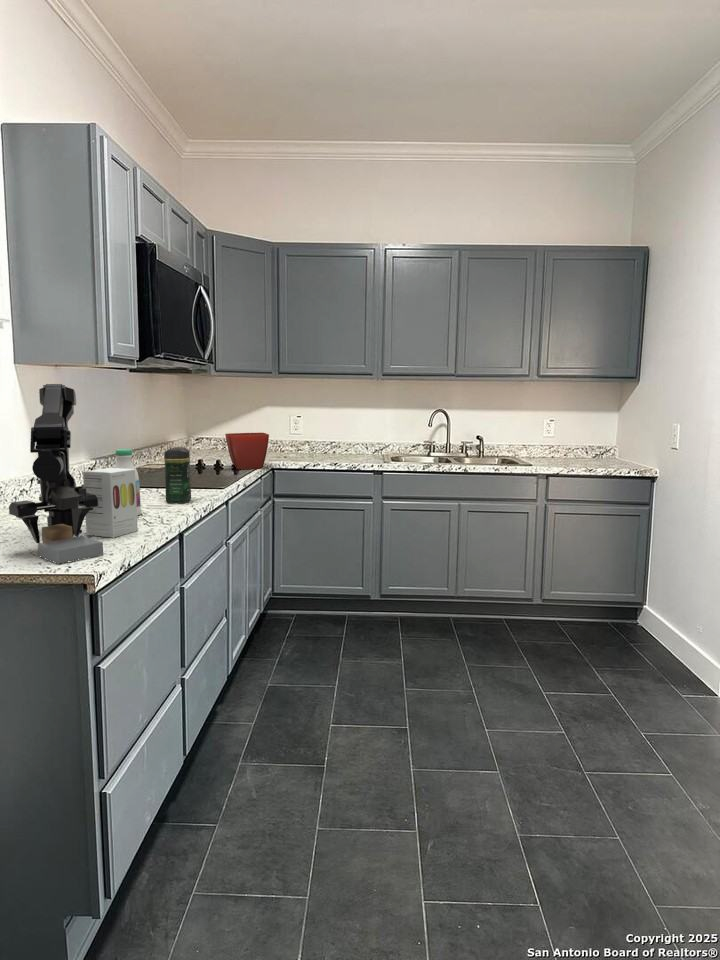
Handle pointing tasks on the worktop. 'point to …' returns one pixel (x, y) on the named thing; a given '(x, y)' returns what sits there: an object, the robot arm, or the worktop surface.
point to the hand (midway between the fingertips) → (57, 539)
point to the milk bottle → (126, 463)
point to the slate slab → (70, 549)
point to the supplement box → (111, 502)
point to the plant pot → (247, 449)
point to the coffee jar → (177, 475)
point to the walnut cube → (56, 532)
